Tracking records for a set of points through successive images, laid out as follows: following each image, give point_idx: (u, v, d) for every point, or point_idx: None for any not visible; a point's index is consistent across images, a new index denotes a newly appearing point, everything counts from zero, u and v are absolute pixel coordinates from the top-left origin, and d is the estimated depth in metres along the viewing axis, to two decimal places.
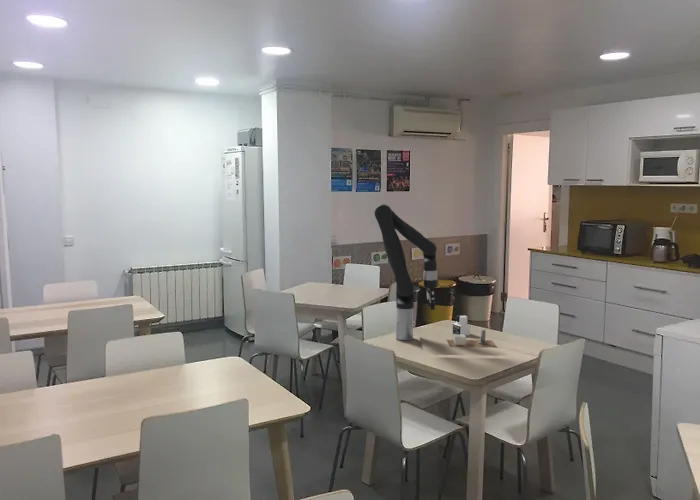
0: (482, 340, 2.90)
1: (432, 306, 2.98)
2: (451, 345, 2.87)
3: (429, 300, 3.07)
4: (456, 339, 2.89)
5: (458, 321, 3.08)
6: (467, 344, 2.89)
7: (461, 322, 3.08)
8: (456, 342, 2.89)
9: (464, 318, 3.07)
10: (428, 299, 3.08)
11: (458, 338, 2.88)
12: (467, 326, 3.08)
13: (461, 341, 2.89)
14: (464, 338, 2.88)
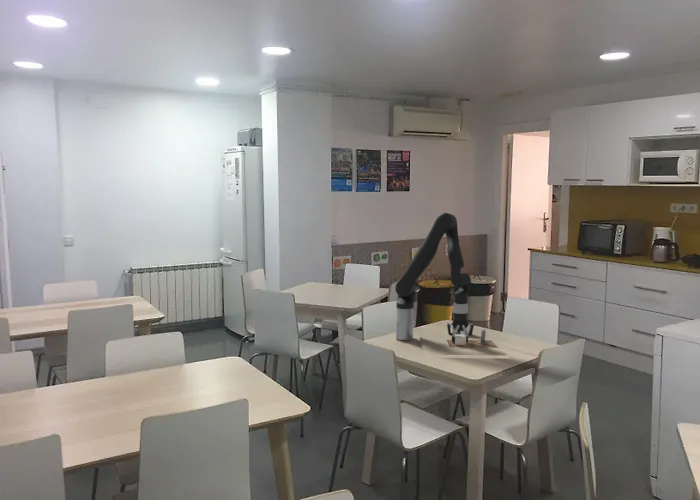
0: (482, 340, 2.90)
1: (467, 339, 2.91)
2: (451, 345, 2.87)
3: (454, 337, 2.91)
4: (456, 339, 2.89)
5: None
6: (467, 344, 2.89)
7: None
8: (456, 342, 2.89)
9: None
10: (454, 336, 2.91)
11: (458, 338, 2.88)
12: None
13: (461, 341, 2.89)
14: (464, 338, 2.88)
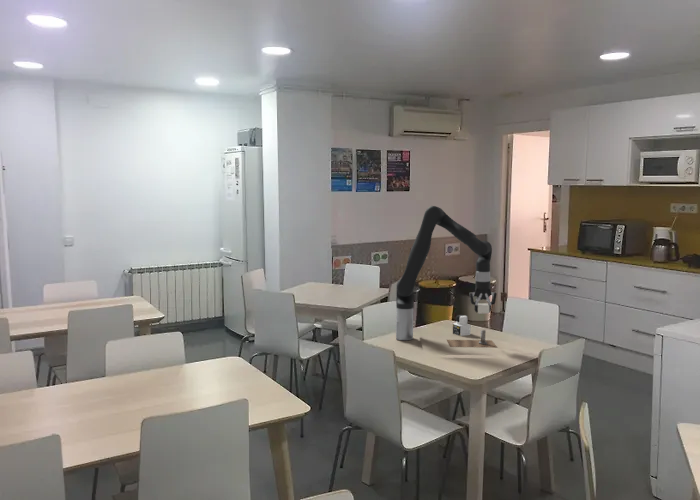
0: (482, 340, 2.90)
1: (490, 308, 2.89)
2: (451, 345, 2.87)
3: (477, 305, 2.89)
4: (479, 308, 2.86)
5: (458, 321, 3.08)
6: (467, 344, 2.89)
7: (461, 322, 3.08)
8: (479, 311, 2.86)
9: (464, 318, 3.07)
10: (477, 305, 2.88)
11: (481, 307, 2.86)
12: (467, 326, 3.08)
13: (484, 310, 2.86)
14: (487, 306, 2.86)
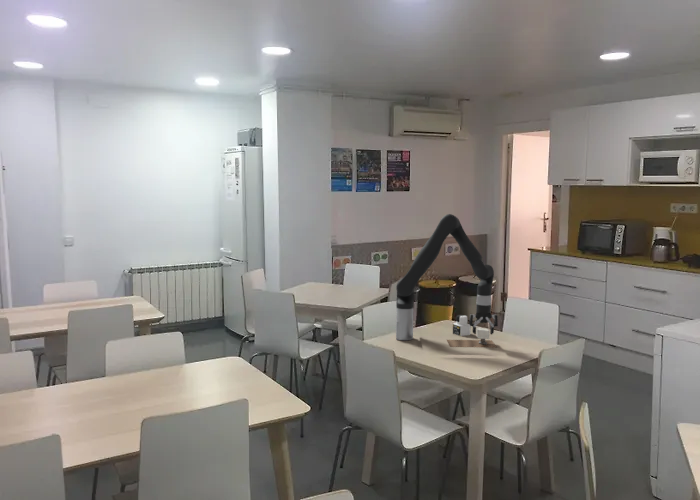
0: (482, 340, 2.90)
1: (493, 330, 2.90)
2: (451, 345, 2.87)
3: (475, 327, 2.90)
4: (479, 333, 2.88)
5: (458, 321, 3.08)
6: (467, 344, 2.89)
7: (461, 322, 3.08)
8: (479, 336, 2.88)
9: (464, 318, 3.07)
10: None
11: (481, 332, 2.88)
12: (467, 326, 3.08)
13: (484, 335, 2.88)
14: (487, 332, 2.87)
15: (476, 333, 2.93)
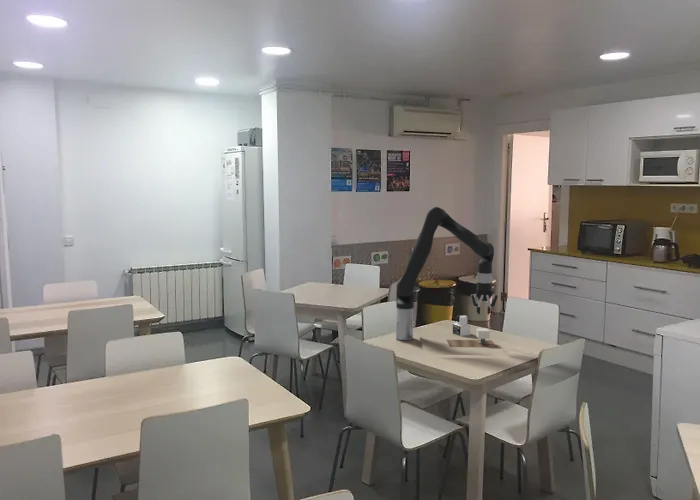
0: (482, 340, 2.90)
1: None
2: (451, 345, 2.87)
3: (479, 307, 2.89)
4: (479, 333, 2.88)
5: (458, 321, 3.08)
6: (467, 344, 2.89)
7: (461, 322, 3.08)
8: (479, 336, 2.88)
9: (464, 318, 3.07)
10: None
11: (481, 332, 2.88)
12: (467, 326, 3.08)
13: (484, 335, 2.88)
14: (487, 332, 2.87)
15: (476, 333, 2.93)
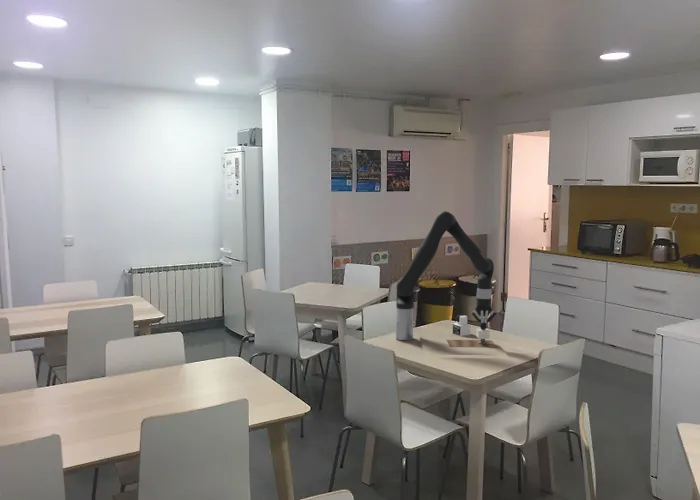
0: (482, 340, 2.90)
1: None
2: (451, 345, 2.87)
3: None
4: (479, 333, 2.88)
5: (458, 321, 3.08)
6: (467, 344, 2.89)
7: (461, 322, 3.08)
8: (479, 336, 2.88)
9: (464, 318, 3.07)
10: (482, 322, 2.89)
11: (481, 332, 2.88)
12: (467, 326, 3.08)
13: (484, 335, 2.88)
14: (487, 332, 2.87)
15: (476, 333, 2.93)
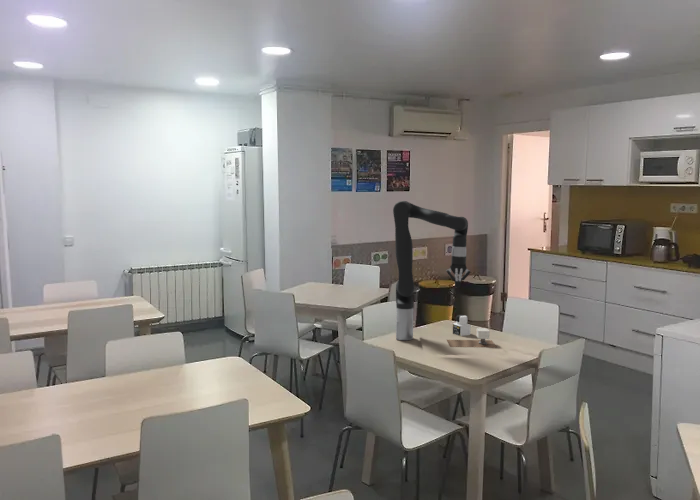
0: (482, 340, 2.90)
1: None
2: (451, 345, 2.87)
3: None
4: (479, 333, 2.88)
5: (458, 321, 3.08)
6: (467, 344, 2.89)
7: (461, 322, 3.08)
8: (479, 336, 2.88)
9: (464, 318, 3.07)
10: None
11: (481, 332, 2.88)
12: (467, 326, 3.08)
13: (484, 335, 2.88)
14: (487, 332, 2.87)
15: (476, 333, 2.93)
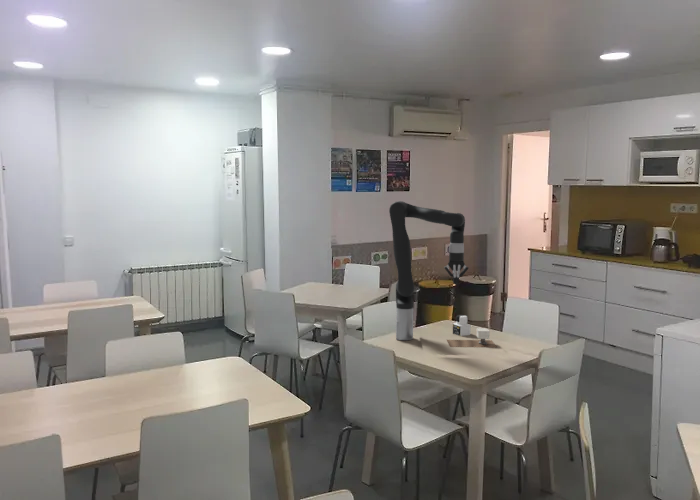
0: (482, 340, 2.90)
1: (458, 280, 2.92)
2: (451, 345, 2.87)
3: None
4: (479, 333, 2.88)
5: (458, 321, 3.08)
6: (467, 344, 2.89)
7: (461, 322, 3.08)
8: (479, 336, 2.88)
9: (464, 318, 3.07)
10: (455, 277, 2.91)
11: (481, 332, 2.88)
12: (467, 326, 3.08)
13: (484, 335, 2.88)
14: (487, 332, 2.87)
15: (476, 333, 2.93)
